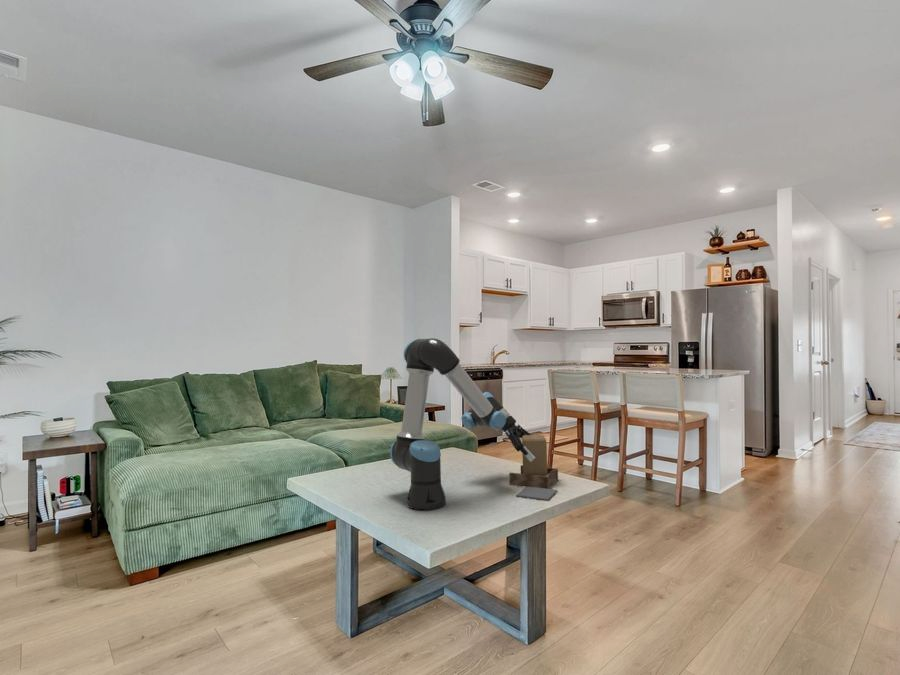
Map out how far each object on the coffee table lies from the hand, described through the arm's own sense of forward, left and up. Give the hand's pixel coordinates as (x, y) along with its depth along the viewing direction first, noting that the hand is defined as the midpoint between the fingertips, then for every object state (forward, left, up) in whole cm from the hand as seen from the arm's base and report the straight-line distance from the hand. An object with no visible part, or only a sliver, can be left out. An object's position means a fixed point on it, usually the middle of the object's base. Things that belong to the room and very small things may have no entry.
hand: (538, 456), depth 208 cm
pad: (+4, -16, -11) cm, 20 cm away
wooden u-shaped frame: (-2, 0, -11) cm, 12 cm away
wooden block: (-2, 0, -12) cm, 12 cm away
